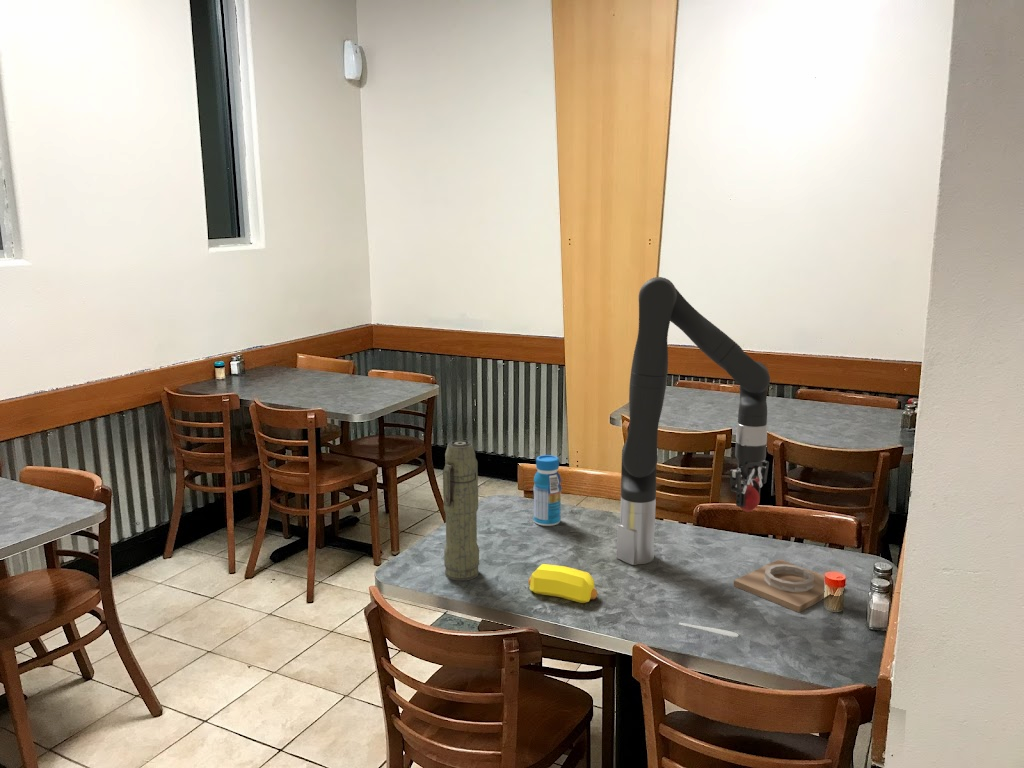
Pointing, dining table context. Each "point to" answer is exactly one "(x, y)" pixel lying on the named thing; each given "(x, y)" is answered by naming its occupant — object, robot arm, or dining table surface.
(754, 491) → the onion
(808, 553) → the dining table surface
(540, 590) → the low-poly banana
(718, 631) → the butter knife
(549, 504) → the beverage bottle
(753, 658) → the dining table surface
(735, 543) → the dining table surface
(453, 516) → the thermos
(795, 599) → the mount board
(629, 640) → the dining table surface
